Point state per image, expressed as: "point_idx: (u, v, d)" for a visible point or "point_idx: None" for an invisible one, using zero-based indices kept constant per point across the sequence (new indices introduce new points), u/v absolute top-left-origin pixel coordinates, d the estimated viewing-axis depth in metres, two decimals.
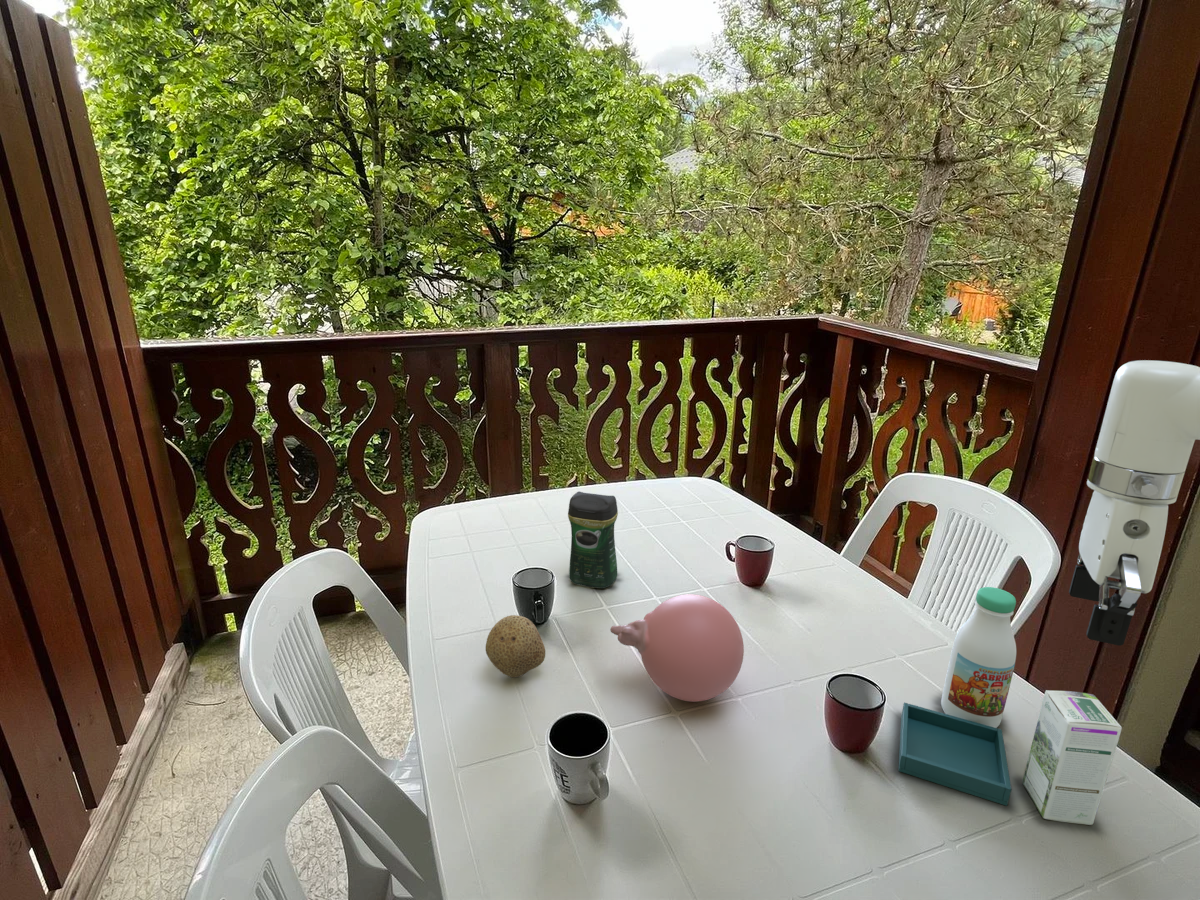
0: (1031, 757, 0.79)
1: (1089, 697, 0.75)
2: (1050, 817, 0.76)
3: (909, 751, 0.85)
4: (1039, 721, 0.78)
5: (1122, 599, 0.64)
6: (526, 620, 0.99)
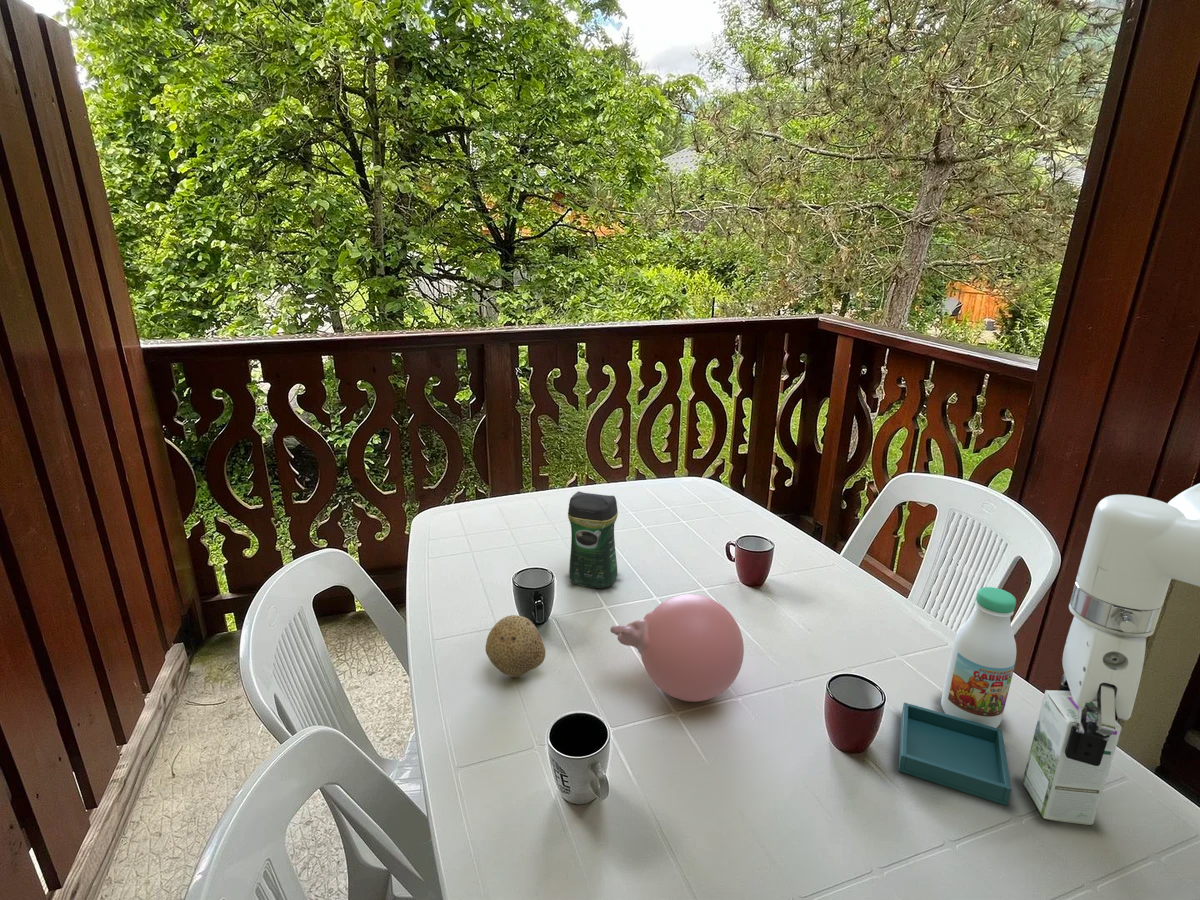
0: (1030, 757, 0.79)
1: None
2: (1050, 817, 0.76)
3: (909, 751, 0.85)
4: (1039, 721, 0.78)
5: (1097, 731, 0.67)
6: (526, 620, 0.99)
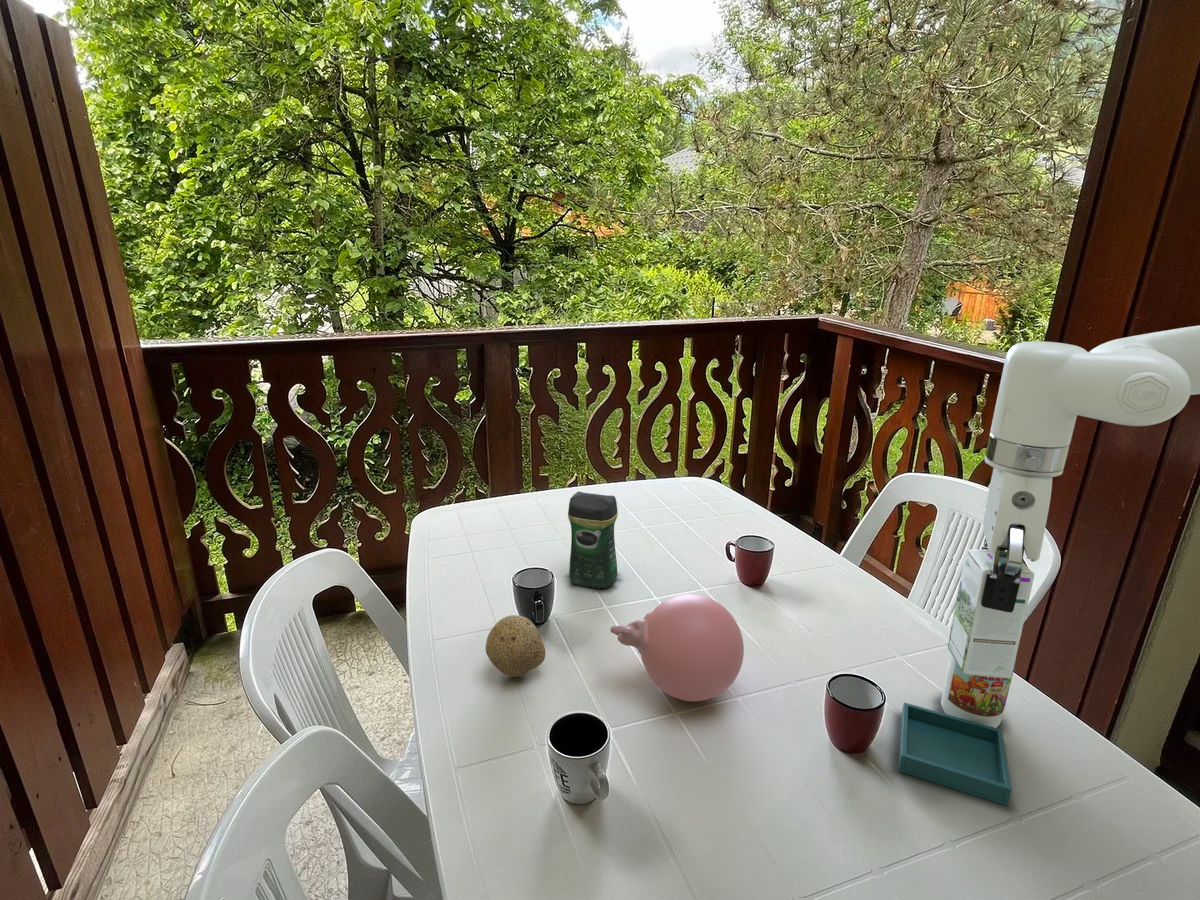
0: (954, 619, 0.81)
1: None
2: (970, 672, 0.78)
3: (909, 751, 0.85)
4: (961, 581, 0.79)
5: (1006, 570, 0.69)
6: (526, 620, 0.99)
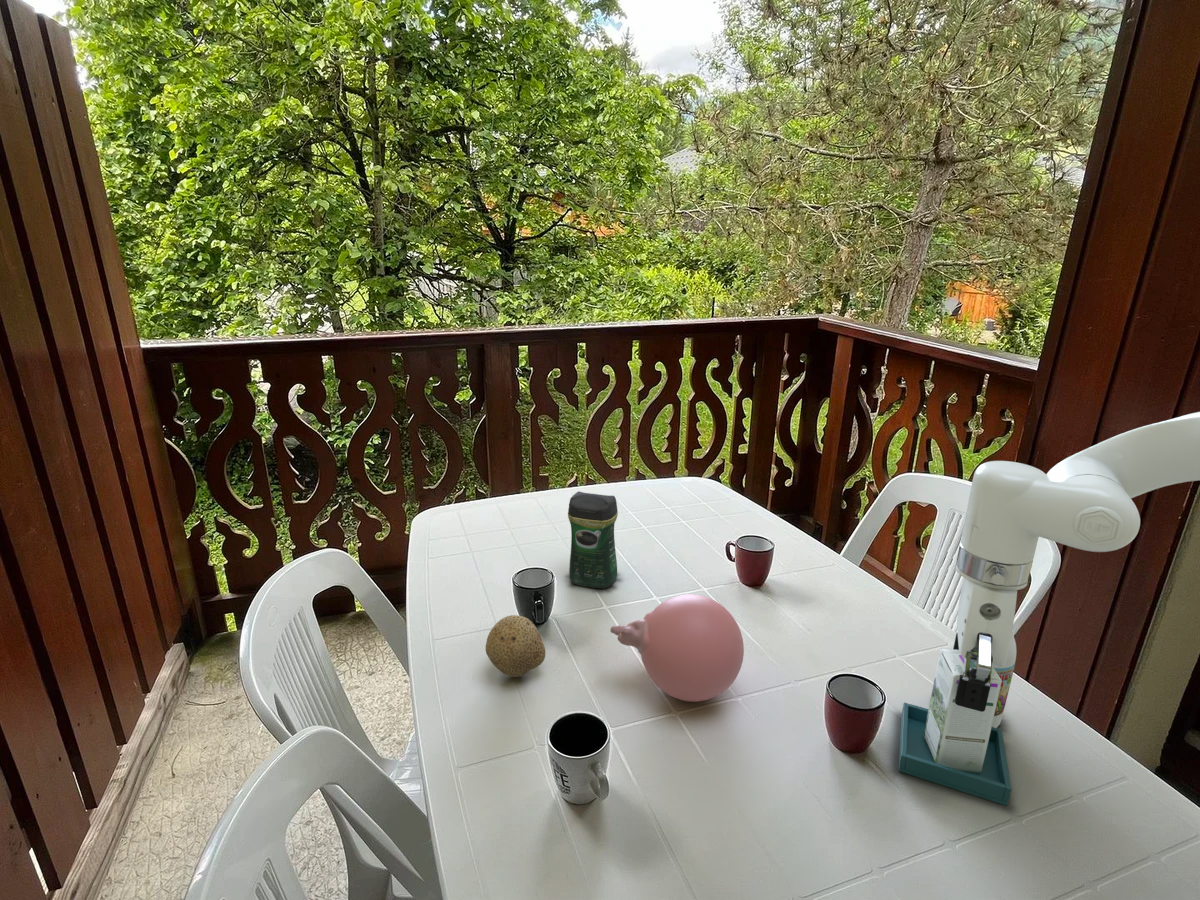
0: (929, 712, 0.86)
1: None
2: None
3: (909, 751, 0.85)
4: (935, 678, 0.84)
5: (976, 674, 0.73)
6: (526, 620, 0.99)
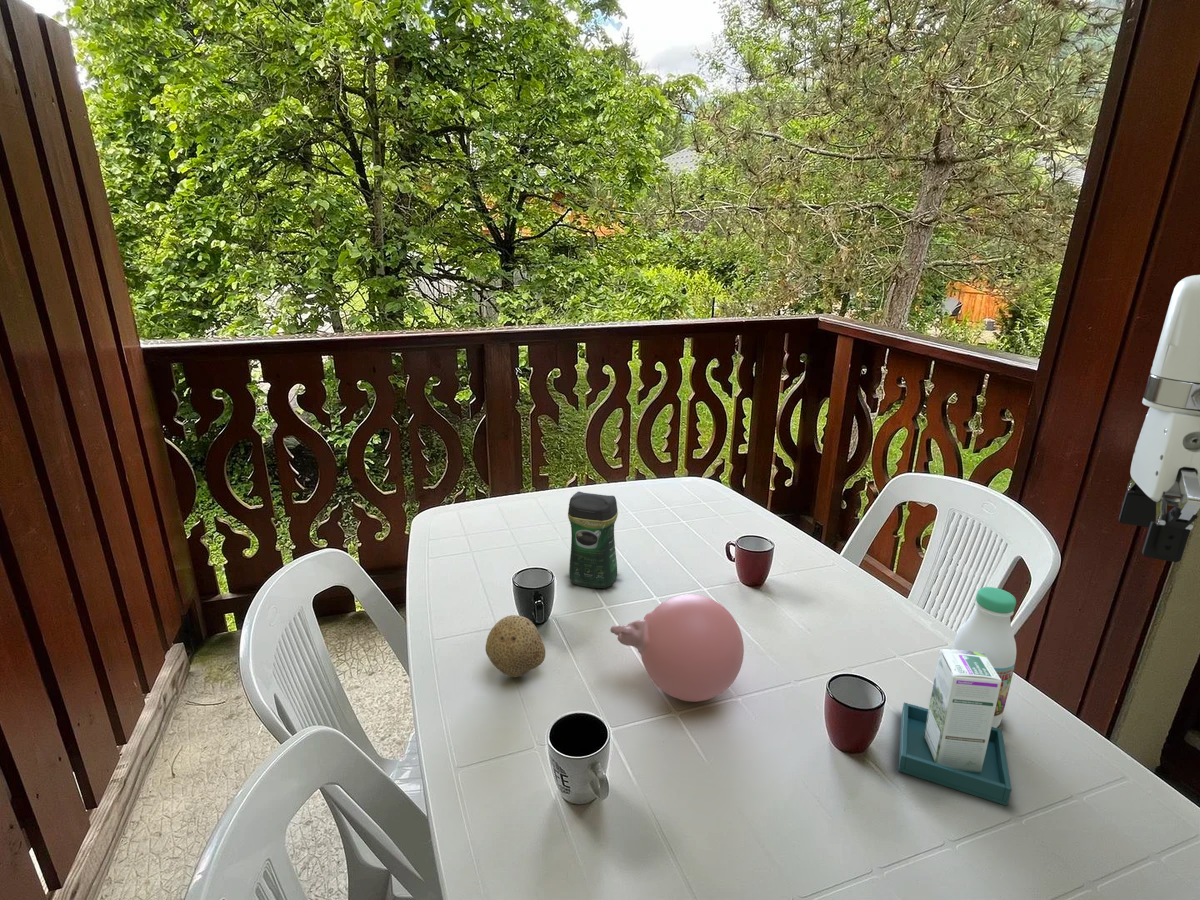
0: (929, 712, 0.86)
1: (979, 655, 0.82)
2: None
3: (909, 751, 0.85)
4: (935, 678, 0.84)
5: (1182, 511, 0.64)
6: (526, 620, 0.99)
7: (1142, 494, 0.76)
